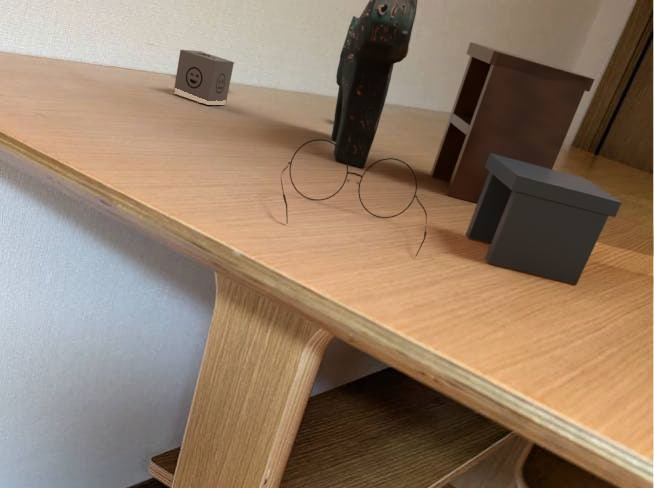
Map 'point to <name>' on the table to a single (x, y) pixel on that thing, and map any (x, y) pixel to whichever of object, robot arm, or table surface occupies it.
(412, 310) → the table surface
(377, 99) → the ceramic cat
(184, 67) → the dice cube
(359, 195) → the eyeglasses
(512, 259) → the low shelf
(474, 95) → the tall shelf
